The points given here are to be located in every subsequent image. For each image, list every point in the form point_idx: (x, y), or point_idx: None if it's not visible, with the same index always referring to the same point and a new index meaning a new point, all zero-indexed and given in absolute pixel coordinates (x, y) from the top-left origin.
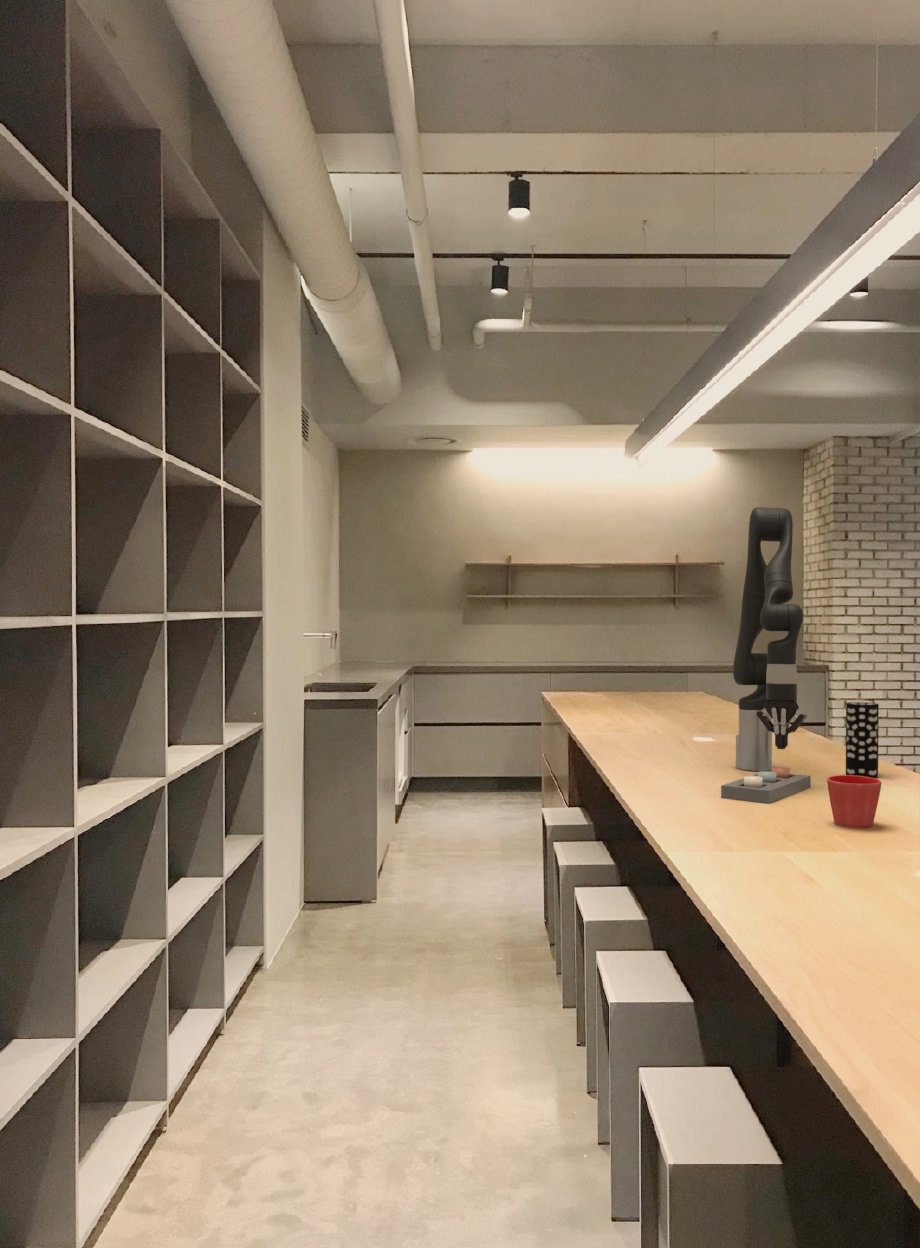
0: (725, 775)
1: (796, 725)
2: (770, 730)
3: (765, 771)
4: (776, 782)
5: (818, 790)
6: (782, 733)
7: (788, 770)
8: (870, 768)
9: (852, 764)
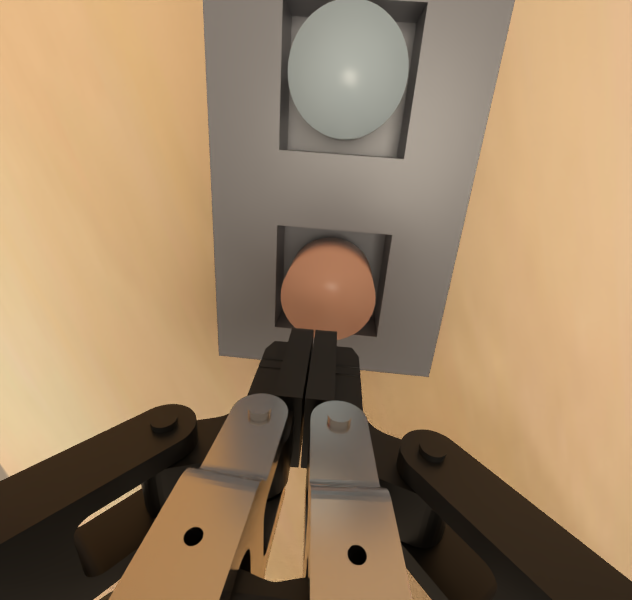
0: (604, 423)
1: (23, 472)
2: (419, 437)
3: (369, 114)
4: (277, 33)
5: (185, 284)
6: (269, 405)
7: (282, 286)
8: None
9: None
